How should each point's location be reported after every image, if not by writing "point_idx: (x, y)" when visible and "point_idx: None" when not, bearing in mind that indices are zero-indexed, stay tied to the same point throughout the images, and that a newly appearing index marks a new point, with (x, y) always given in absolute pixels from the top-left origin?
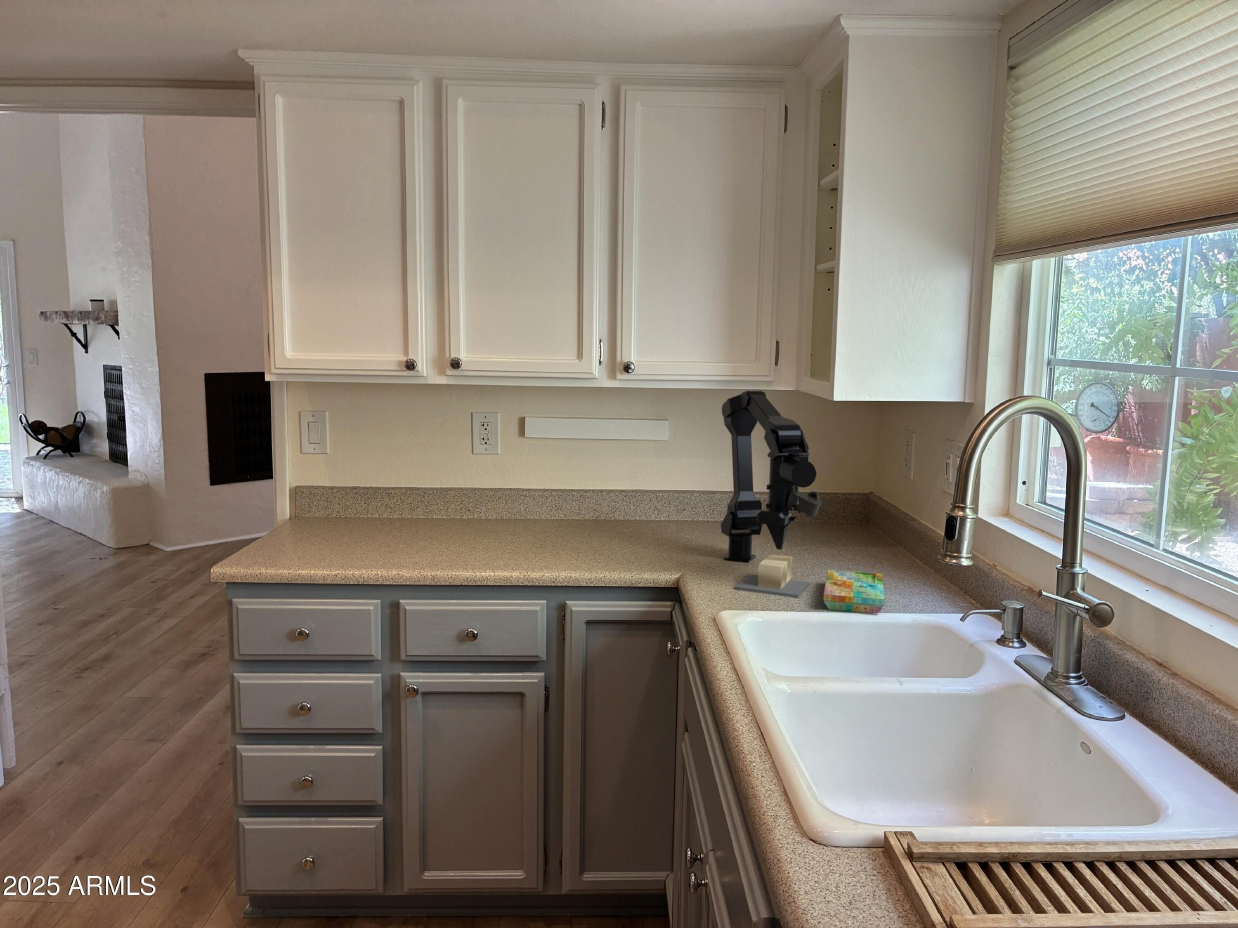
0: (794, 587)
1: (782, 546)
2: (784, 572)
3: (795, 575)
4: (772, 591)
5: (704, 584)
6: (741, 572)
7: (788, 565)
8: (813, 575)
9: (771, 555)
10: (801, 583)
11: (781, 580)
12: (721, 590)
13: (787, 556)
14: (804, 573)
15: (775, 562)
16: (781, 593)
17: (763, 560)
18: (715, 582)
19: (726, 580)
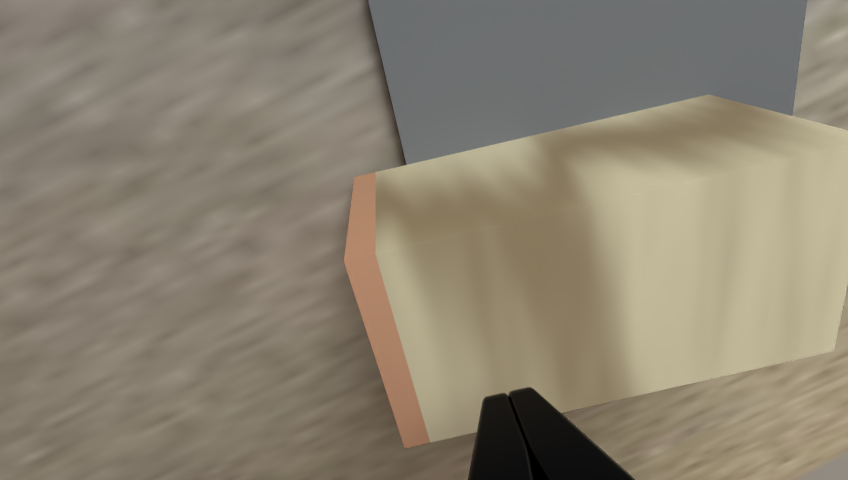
0: (601, 26)
1: (517, 411)
2: (660, 147)
3: (183, 221)
4: (789, 114)
5: (722, 465)
6: (389, 469)
7: (516, 194)
8: (49, 110)
9: (447, 423)
10: (446, 36)
11: (731, 111)
12: (801, 366)
13: (375, 305)
14: (66, 197)
15: (708, 272)
16: (795, 40)
17: (680, 382)
18: (661, 453)
19: (595, 440)
